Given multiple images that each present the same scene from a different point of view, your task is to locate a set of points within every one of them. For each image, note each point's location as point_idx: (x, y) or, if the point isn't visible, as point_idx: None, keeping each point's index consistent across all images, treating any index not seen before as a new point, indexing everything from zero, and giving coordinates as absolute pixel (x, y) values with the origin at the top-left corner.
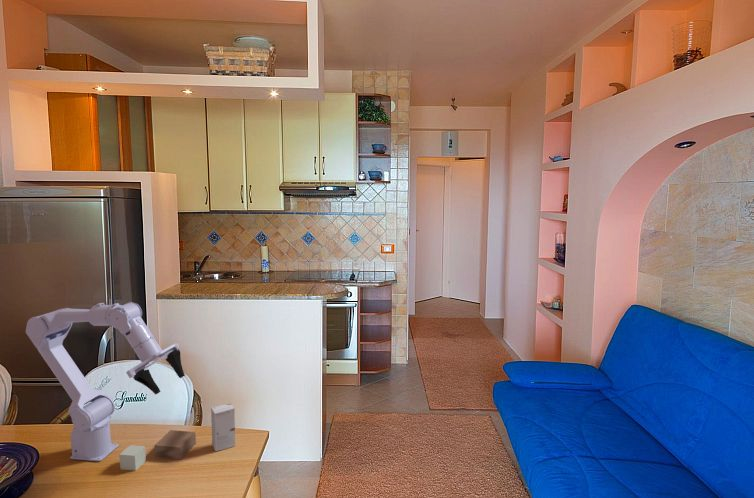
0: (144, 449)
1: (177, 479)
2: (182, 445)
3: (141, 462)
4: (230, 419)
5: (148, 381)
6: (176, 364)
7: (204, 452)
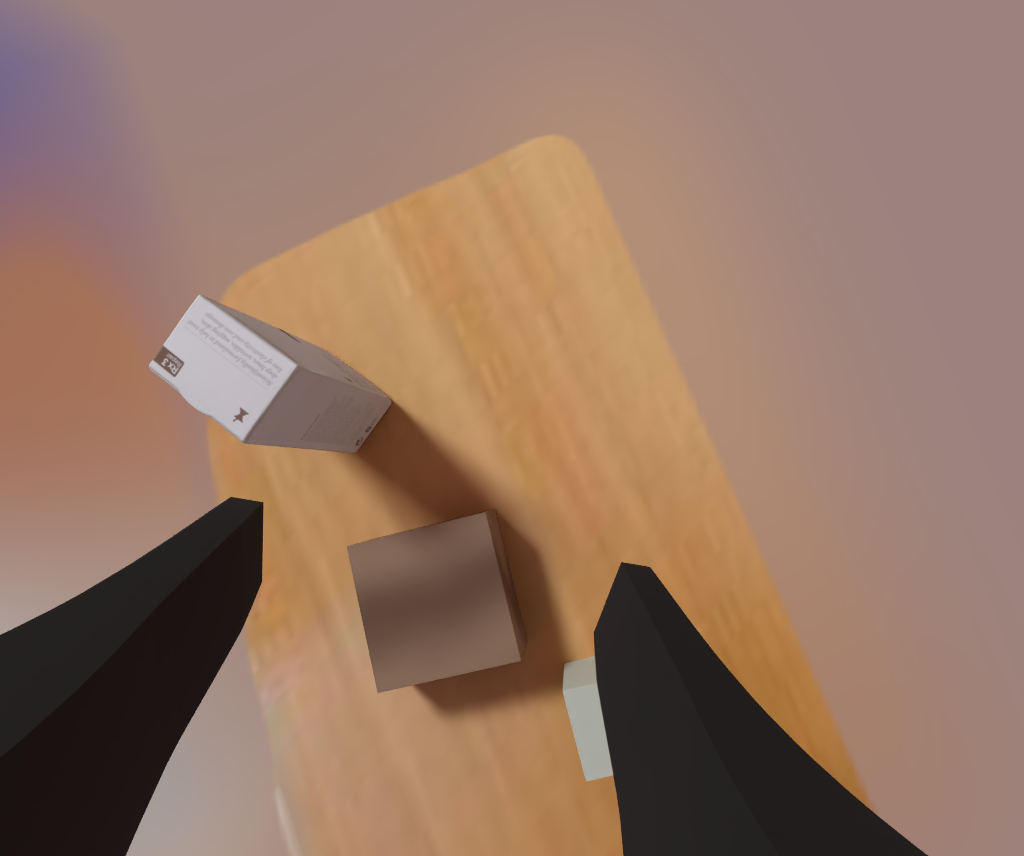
0: (567, 684)
1: (612, 414)
2: (467, 517)
3: None
4: (261, 325)
5: (786, 736)
6: (135, 658)
7: (413, 447)
